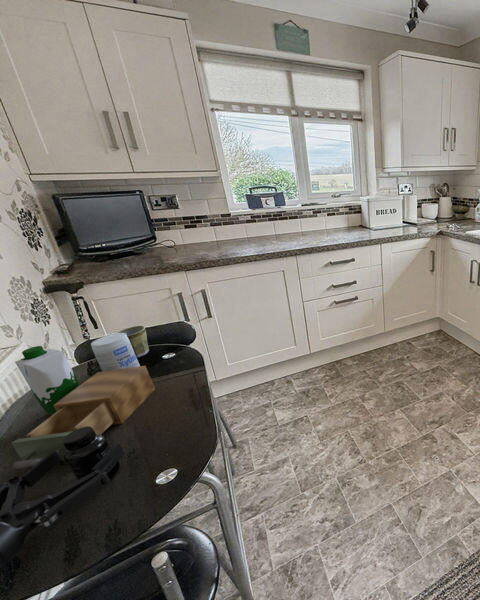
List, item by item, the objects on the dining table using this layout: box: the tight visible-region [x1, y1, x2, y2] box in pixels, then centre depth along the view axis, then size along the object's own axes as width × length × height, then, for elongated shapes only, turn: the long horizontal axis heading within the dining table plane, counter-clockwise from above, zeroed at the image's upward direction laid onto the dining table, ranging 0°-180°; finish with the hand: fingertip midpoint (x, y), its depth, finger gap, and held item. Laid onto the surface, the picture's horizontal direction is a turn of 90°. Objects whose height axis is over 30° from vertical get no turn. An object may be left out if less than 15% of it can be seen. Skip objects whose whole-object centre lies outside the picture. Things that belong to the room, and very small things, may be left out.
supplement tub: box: [90, 332, 141, 372], centre depth 110 cm, size 10×10×15 cm
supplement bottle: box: [62, 426, 121, 481], centre depth 71 cm, size 7×7×12 cm
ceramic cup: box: [114, 325, 150, 359], centre depth 127 cm, size 13×10×10 cm
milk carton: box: [14, 345, 81, 416], centre depth 95 cm, size 9×9×20 cm
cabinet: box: [53, 365, 156, 427], centre depth 94 cm, size 16×14×9 cm
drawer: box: [11, 401, 116, 470], centre depth 81 cm, size 19×13×7 cm, turn 7°
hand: (88, 452), depth 71 cm, fingers open, 13 cm apart
